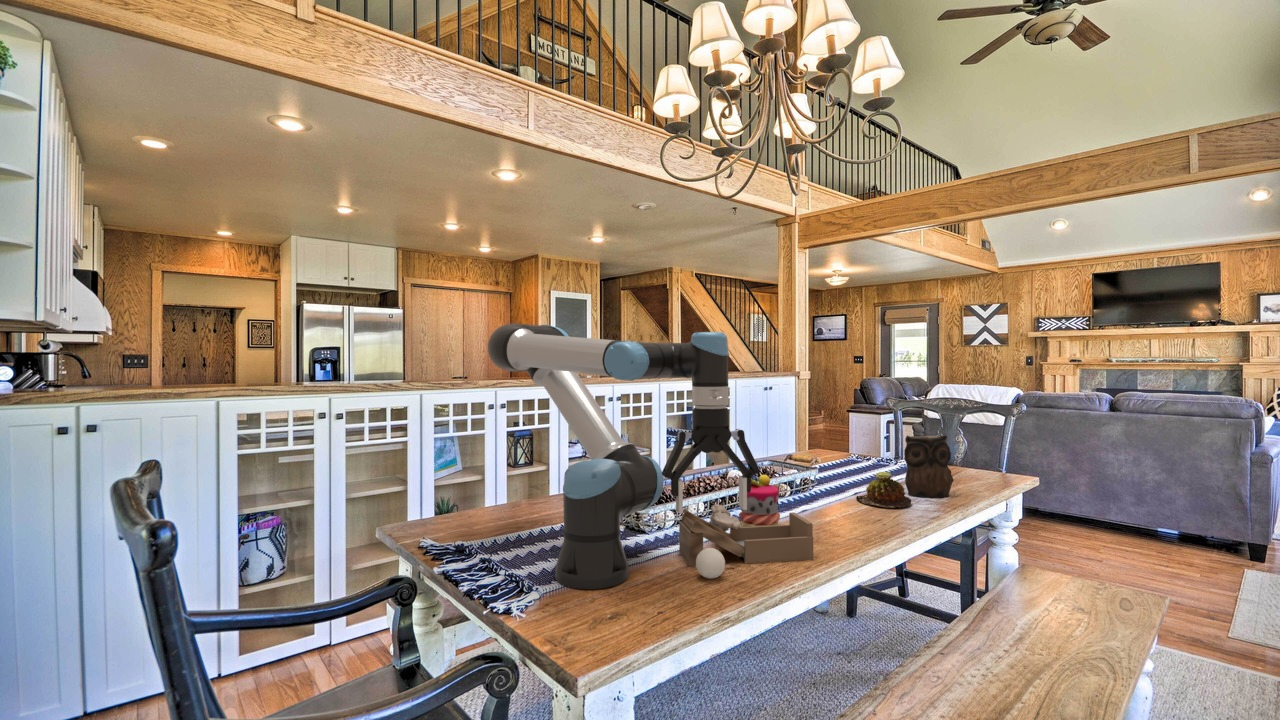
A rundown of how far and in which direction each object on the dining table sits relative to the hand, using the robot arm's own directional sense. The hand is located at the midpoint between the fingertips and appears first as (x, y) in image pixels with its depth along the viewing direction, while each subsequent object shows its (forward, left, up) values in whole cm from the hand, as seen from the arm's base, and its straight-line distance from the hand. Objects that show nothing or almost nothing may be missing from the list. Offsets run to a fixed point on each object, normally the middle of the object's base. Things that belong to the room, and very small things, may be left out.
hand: (711, 510), depth 123 cm
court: (+18, +12, -14) cm, 26 cm away
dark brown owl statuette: (+91, +60, -14) cm, 110 cm away
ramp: (+4, +12, -14) cm, 19 cm away
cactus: (+72, +53, -15) cm, 91 cm away
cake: (+23, +32, -14) cm, 42 cm away
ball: (0, 0, -14) cm, 14 cm away
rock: (+11, +26, -15) cm, 32 cm away
